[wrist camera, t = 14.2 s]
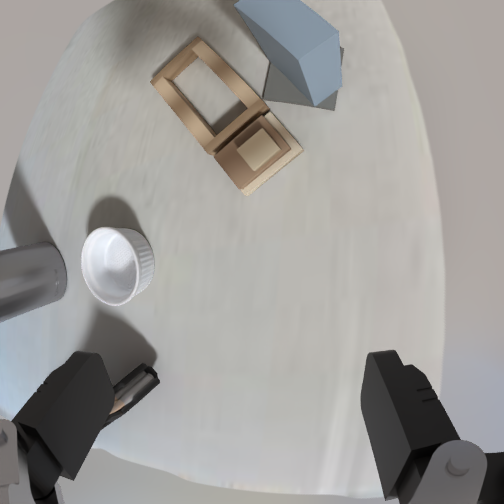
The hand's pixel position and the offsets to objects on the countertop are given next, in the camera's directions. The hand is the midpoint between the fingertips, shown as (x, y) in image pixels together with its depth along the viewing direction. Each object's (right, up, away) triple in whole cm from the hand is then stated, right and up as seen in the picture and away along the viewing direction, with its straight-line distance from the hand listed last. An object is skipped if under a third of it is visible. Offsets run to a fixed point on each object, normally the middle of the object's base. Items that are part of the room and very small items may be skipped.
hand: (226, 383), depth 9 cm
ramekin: (-14, +3, +28) cm, 32 cm away
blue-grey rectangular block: (+6, +21, +19) cm, 29 cm away
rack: (-2, +18, +22) cm, 28 cm away
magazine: (-21, -20, +34) cm, 45 cm away
